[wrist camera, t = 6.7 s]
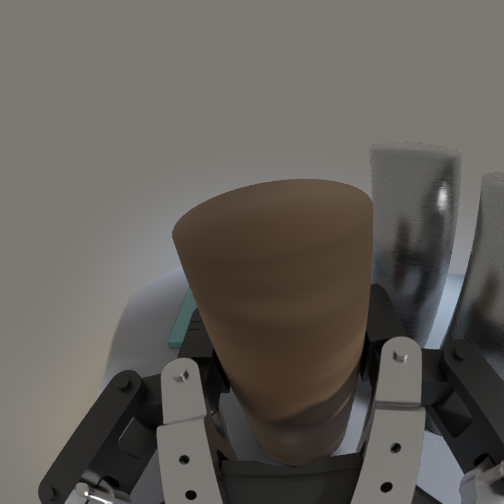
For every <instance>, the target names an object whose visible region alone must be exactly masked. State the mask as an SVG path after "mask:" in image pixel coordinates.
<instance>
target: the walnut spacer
mask: <svg viewBox="0 0 504 504" xmlns="http://www.w3.org/2000/svg"><path fill="white" fill-rule="evenodd" d="M172 238H173V241H174V244H175V246H176V250H177V253H178V255H179V258H180V261H181V264H182V267H183V270H184V272H185V275H186V278H187V281H188V283H189V286H190V289H191V292H192V294H193V297H194V299H195V302H196V305H197V307H198V310H199V312H200V315H201V317H202V320H203V322H204V325H205V327H206V330H207V332H208V335H209V337H210V339H211V342H212V344H213V347H214V349H215V351H216V354H217V356H218V358H219V360H220V363H221V365H222V367H223V370H224V372H225V374H226V376H227V378H228V381H229V383H230V385H231V387H232V389H233V391H234V394H235V396H236V398H237V400H238V402H239V404H240V406H241V408H242V410H243V412H244V414H245V416H246V418H247V420H248V422H249V424H250V426H251V428H252V430H253V432H254V434H255V436H256V438H257V440H258V442H259V444H260V445H261V447H262V449H263V450H264V451H265V453H266V454H267V455H269V456H270V457H271V458H272V459H274V460H276V461H278V462H280V463H283V464H286V465H292V466H301V465H304V464H308V463H311V462H314V461H317V460H320V459H323V458H326V457H328V456H330V455H331V454H332V453H333V452H334V451H335V450H336V449H337V448H338V447H339V446H340V444H341V442H342V441H343V438H344V436H345V432H346V429H347V425H348V421H349V417H350V413H351V409H352V404H353V400H354V396H355V391H356V386H357V381H358V376H359V371H360V365H361V359H362V353H363V347H364V340H365V333H366V325H367V317H368V308H369V298H370V286H371V273H372V253H373V203H372V201H371V199H370V197H369V196H368V195H367V194H366V193H364V192H363V191H362V190H360V189H358V188H356V187H353V186H351V185H347V184H344V183H340V182H335V181H329V180H319V179H292V180H281V181H272V182H266V183H260V184H255V185H251V186H247V187H243V188H239V189H236V190H232V191H229V192H226V193H224V194H221V195H218V196H216V197H213V198H211V199H209V200H207V201H205V202H203V203H201V204H199V205H198V206H196V207H194V208H193V209H191V210H190V211H188V212H187V213H186V214H185V215H183V216H182V217H181V218H180V220H179V221H178V222H177V223H176V225H175V226H174V229H173V232H172Z"/></svg>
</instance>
